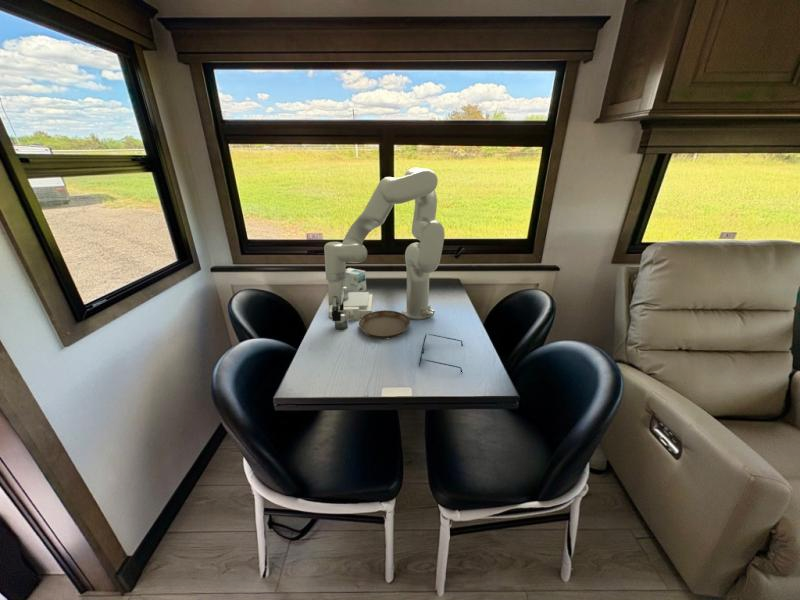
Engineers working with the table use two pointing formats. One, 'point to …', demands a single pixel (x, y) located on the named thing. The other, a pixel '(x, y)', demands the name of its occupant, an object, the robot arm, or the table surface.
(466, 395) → the table surface
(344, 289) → the ball
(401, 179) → the robot arm
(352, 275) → the light bulb box
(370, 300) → the scale
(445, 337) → the sunglasses
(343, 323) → the cylinder
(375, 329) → the plant saucer
